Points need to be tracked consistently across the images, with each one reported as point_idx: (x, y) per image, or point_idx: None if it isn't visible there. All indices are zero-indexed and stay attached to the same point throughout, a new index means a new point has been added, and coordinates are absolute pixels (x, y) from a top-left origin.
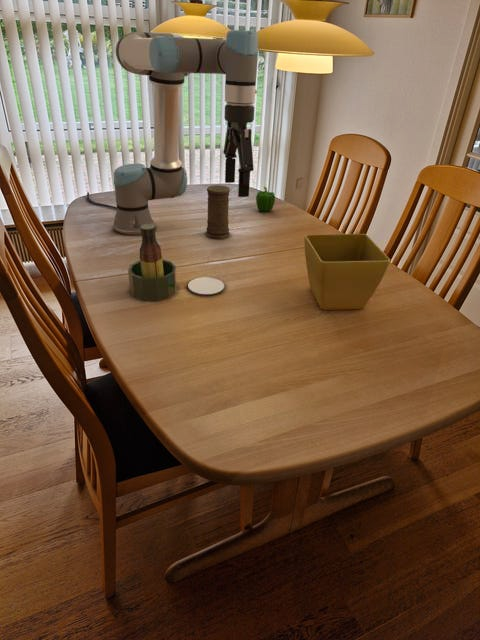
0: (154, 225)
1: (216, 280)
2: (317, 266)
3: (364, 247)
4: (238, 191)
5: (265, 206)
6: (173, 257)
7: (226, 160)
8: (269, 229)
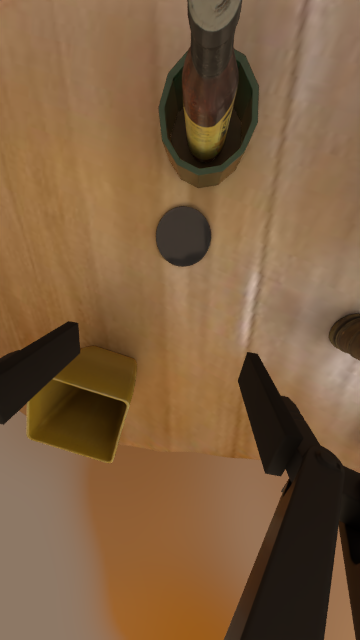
0: (212, 29)
1: (191, 259)
2: None
3: (108, 444)
4: (64, 329)
5: None
6: (310, 221)
7: (281, 429)
8: (318, 405)
